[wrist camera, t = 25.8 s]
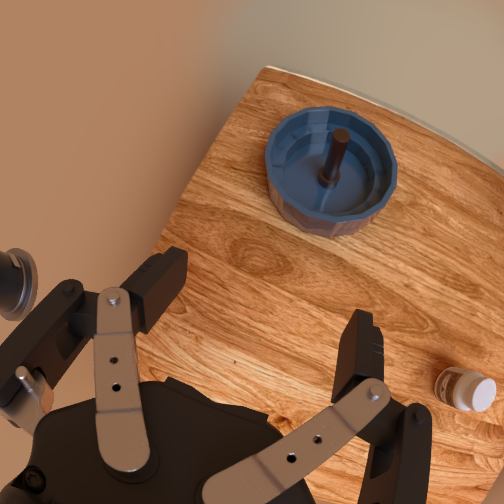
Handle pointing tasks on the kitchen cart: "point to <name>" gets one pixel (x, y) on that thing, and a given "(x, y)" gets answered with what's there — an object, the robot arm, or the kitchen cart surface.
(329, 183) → the brown rubber stamp
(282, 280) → the kitchen cart surface
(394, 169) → the bowl
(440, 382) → the pill bottle
